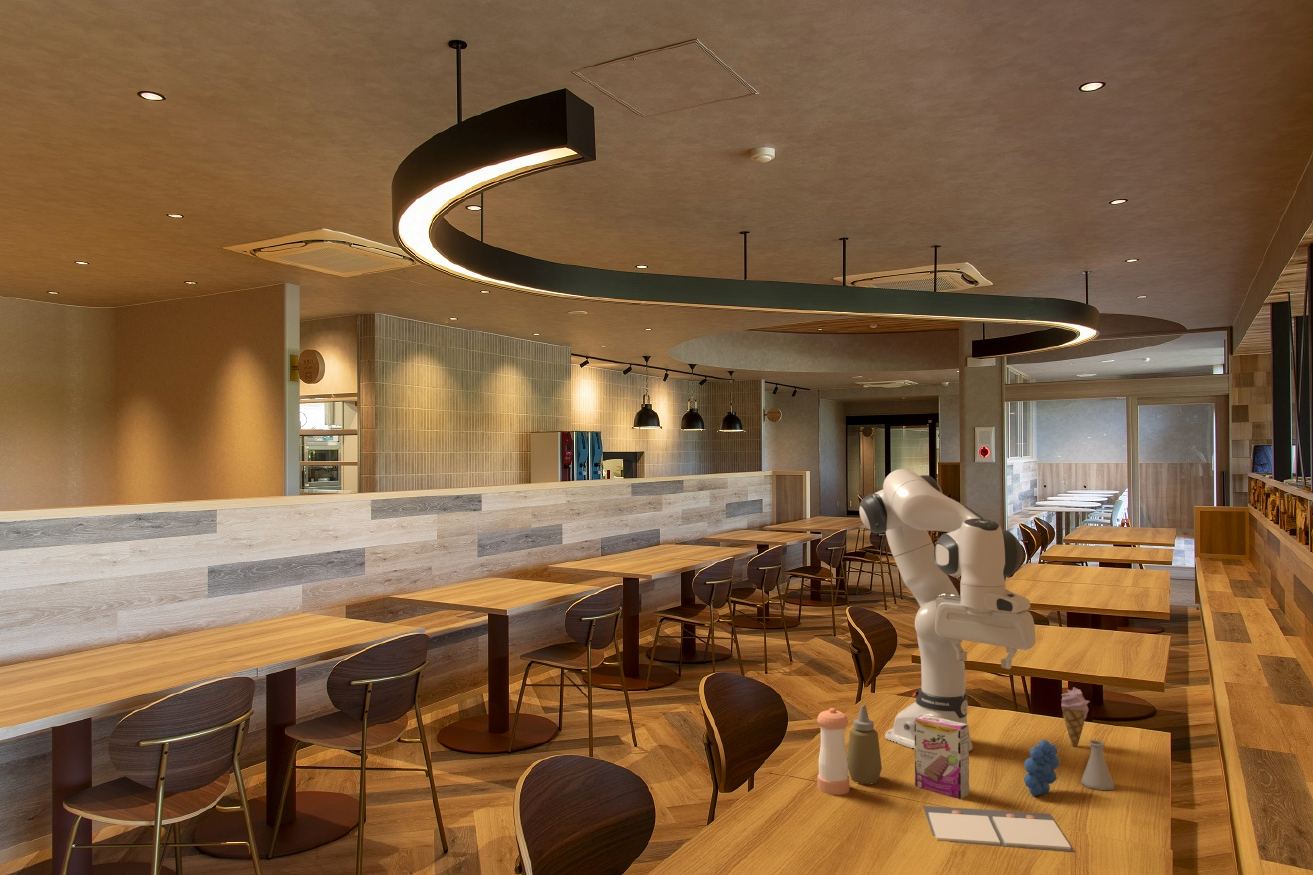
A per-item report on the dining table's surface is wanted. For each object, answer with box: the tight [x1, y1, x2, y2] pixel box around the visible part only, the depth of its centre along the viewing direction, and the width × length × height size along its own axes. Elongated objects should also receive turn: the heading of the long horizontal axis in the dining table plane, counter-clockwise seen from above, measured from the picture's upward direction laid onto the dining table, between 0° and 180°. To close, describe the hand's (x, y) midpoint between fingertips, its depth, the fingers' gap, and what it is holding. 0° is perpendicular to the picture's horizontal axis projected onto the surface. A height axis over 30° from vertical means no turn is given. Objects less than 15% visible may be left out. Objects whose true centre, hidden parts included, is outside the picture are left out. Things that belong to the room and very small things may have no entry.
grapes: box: [1023, 739, 1061, 797], centre depth 193 cm, size 12×7×12 cm, turn 123°
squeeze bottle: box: [847, 704, 883, 785], centre depth 200 cm, size 8×8×18 cm
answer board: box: [923, 805, 1075, 853], centre depth 174 cm, size 26×17×1 cm, turn 80°
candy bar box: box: [914, 714, 970, 800], centre depth 194 cm, size 11×5×16 cm, turn 47°
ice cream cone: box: [1060, 687, 1091, 747], centre depth 223 cm, size 7×6×15 cm
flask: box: [1080, 739, 1115, 791], centre depth 197 cm, size 7×7×10 cm
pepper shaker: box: [816, 707, 850, 796], centre depth 195 cm, size 7×7×19 cm
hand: (983, 664), depth 176 cm, fingers open, 8 cm apart
